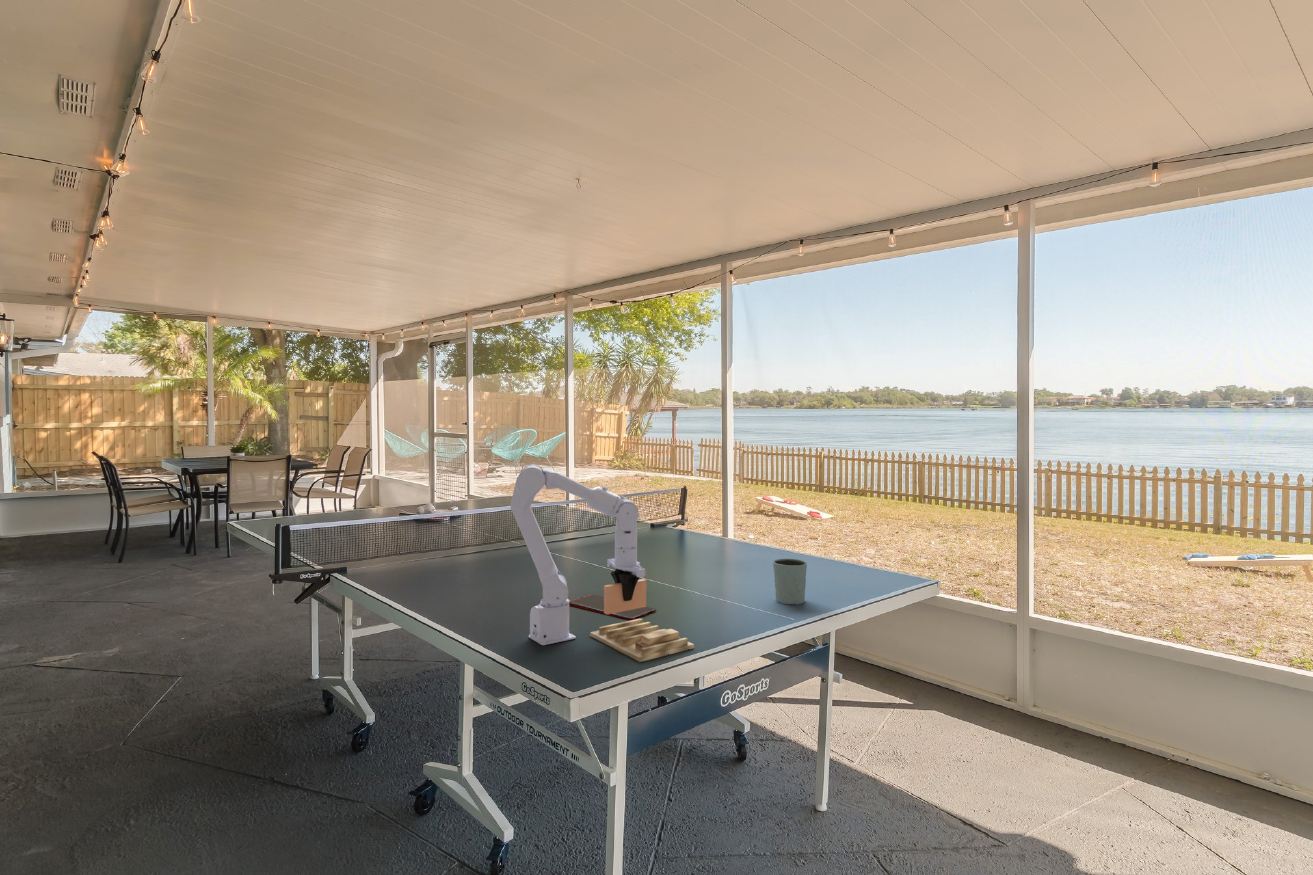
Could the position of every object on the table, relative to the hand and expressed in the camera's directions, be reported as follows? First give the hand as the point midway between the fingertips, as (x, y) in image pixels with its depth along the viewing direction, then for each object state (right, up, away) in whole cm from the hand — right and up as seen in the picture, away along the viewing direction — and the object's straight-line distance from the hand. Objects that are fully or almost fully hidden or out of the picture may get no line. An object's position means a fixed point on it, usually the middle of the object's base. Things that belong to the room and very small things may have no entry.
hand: (625, 599), depth 175 cm
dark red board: (-5, -9, +24) cm, 26 cm away
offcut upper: (+9, -7, -11) cm, 16 cm away
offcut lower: (+8, -9, -11) cm, 16 cm away
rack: (+3, -9, -4) cm, 11 cm away
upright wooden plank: (0, -3, 0) cm, 3 cm away
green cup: (+49, -9, +34) cm, 60 cm away
